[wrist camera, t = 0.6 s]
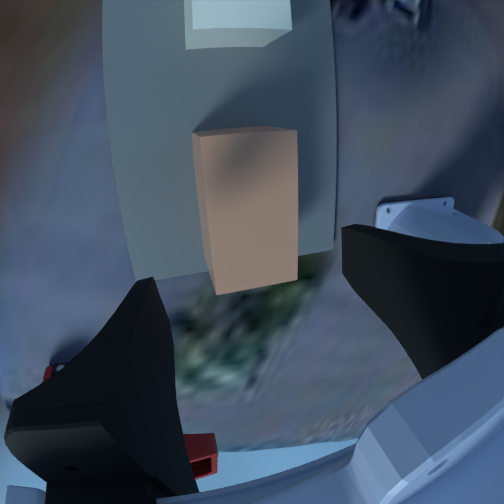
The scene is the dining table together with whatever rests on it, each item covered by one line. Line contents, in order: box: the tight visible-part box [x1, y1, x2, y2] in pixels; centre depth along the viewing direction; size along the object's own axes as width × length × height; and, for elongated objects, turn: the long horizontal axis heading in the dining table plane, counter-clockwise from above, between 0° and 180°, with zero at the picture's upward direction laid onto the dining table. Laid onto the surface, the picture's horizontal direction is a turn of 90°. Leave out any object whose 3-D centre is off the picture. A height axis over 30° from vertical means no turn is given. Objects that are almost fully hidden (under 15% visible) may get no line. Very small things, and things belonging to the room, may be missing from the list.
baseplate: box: [102, 0, 337, 281], centre depth 16 cm, size 14×24×1 cm, turn 3°
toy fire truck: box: [42, 363, 218, 479], centre depth 19 cm, size 3×14×10 cm, turn 85°
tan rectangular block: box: [191, 126, 298, 295], centre depth 17 cm, size 4×8×4 cm, turn 3°
